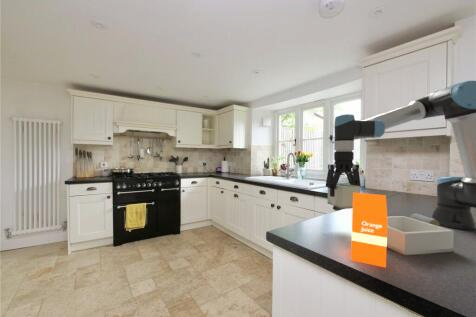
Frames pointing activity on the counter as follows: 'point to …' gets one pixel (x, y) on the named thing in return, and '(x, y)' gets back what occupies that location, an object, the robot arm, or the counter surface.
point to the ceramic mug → (425, 219)
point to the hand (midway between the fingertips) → (342, 203)
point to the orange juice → (369, 229)
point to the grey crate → (417, 236)
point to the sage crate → (344, 195)
